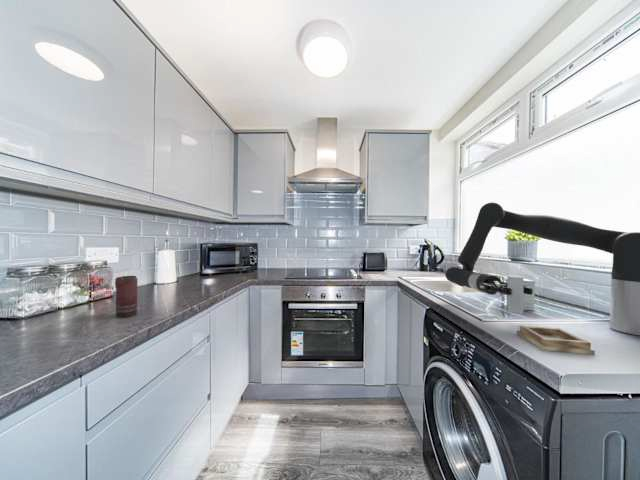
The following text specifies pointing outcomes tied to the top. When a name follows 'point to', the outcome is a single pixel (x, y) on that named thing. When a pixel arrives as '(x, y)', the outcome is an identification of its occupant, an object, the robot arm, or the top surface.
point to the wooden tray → (555, 340)
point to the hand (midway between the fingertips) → (521, 291)
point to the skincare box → (515, 294)
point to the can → (126, 296)
